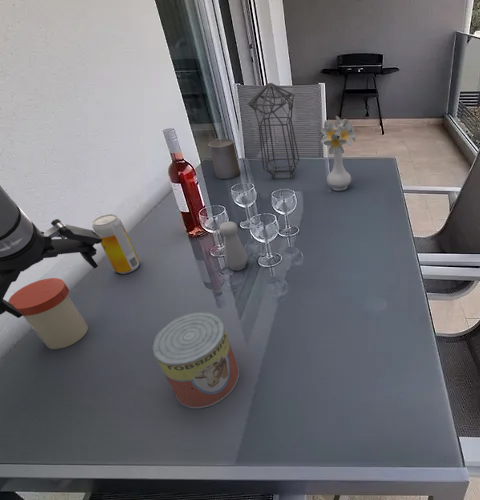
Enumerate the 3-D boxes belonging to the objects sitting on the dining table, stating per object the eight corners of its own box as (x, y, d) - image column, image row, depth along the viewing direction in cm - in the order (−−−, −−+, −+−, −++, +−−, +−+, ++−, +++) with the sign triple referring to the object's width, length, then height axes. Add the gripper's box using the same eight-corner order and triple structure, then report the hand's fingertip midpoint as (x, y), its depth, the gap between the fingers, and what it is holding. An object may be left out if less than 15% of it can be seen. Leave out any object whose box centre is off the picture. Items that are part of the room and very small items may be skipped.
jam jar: (36, 345, 72) (3, 304, 66) (68, 319, 78) (41, 279, 72) (65, 352, 71) (34, 310, 64) (96, 325, 77) (71, 284, 70)
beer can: (125, 260, 97) (102, 212, 88) (145, 262, 96) (124, 214, 87) (110, 274, 92) (84, 225, 83) (131, 275, 91) (107, 226, 82)
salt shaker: (222, 270, 92) (210, 228, 85) (235, 258, 96) (224, 217, 89) (241, 274, 90) (230, 231, 83) (253, 262, 95) (244, 220, 87)
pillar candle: (233, 168, 152) (225, 134, 143) (244, 174, 146) (237, 139, 137) (212, 175, 147) (202, 139, 138) (222, 181, 141) (213, 144, 132)
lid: (1, 311, 66) (-5, 304, 65) (45, 282, 73) (41, 275, 72) (38, 319, 64) (32, 311, 63) (79, 288, 71) (75, 281, 70)
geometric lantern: (299, 182, 138) (288, 86, 118) (260, 183, 138) (242, 87, 118) (304, 167, 151) (294, 78, 131) (268, 168, 151) (253, 79, 131)
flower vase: (325, 200, 124) (320, 129, 110) (321, 180, 139) (316, 115, 125) (361, 197, 126) (361, 126, 111) (354, 177, 141) (352, 112, 126)
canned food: (195, 421, 58) (172, 377, 51) (163, 383, 64) (139, 339, 57) (251, 376, 65) (238, 332, 58) (218, 345, 71) (202, 302, 64)
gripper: (-99, 319, 40) (-6, 350, 58) (107, 204, 54) (131, 257, 72) (-144, 275, 40) (-38, 319, 58) (73, 171, 54) (105, 233, 72)
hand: (55, 285), depth 65 cm, fingers open, 13 cm apart
